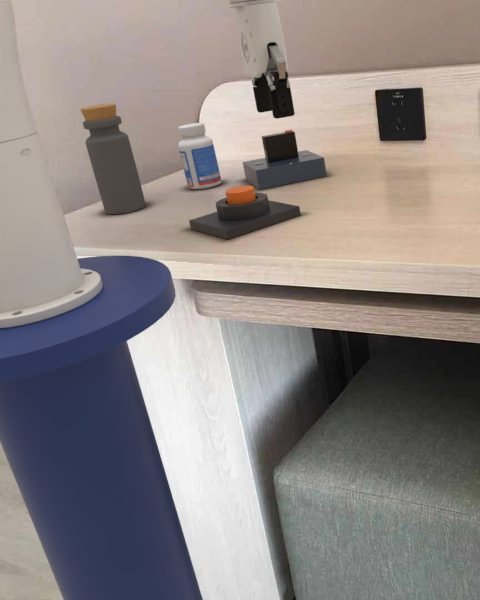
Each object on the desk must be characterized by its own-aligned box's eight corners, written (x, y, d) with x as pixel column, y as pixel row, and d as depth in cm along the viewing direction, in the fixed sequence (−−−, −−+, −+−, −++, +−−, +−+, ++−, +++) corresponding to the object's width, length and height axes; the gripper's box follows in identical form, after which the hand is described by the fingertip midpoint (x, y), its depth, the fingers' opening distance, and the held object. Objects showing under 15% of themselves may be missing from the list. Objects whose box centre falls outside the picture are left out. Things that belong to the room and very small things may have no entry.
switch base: (228, 239, 81) (222, 215, 80) (190, 229, 87) (185, 206, 86) (301, 215, 88) (297, 192, 87) (261, 206, 94) (257, 185, 93)
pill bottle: (227, 180, 113) (215, 120, 109) (213, 189, 108) (199, 126, 104) (197, 182, 114) (183, 123, 110) (182, 190, 109) (167, 129, 105)
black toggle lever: (268, 162, 107) (263, 135, 105) (266, 161, 108) (261, 134, 107) (298, 157, 109) (294, 130, 107) (296, 155, 110) (291, 129, 108)
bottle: (96, 215, 100) (66, 110, 94) (121, 203, 105) (94, 104, 99) (130, 214, 98) (101, 107, 92) (154, 202, 103) (128, 101, 97)
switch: (237, 208, 84) (235, 194, 84) (222, 204, 87) (219, 191, 86) (261, 200, 87) (259, 187, 86) (246, 197, 89) (243, 184, 88)
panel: (259, 189, 104) (255, 169, 103) (245, 179, 112) (242, 160, 111) (327, 176, 108) (324, 156, 107) (309, 167, 116) (306, 148, 114)
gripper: (217, 0, 105) (239, 112, 112) (242, -7, 91) (266, 124, 97) (264, -6, 108) (283, 105, 115) (296, -13, 93) (315, 115, 100)
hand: (275, 113), depth 106 cm, fingers open, 9 cm apart
